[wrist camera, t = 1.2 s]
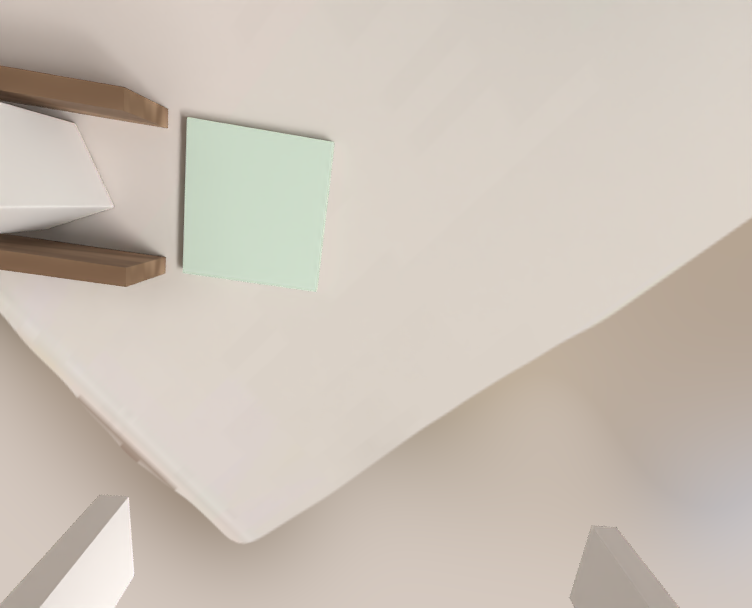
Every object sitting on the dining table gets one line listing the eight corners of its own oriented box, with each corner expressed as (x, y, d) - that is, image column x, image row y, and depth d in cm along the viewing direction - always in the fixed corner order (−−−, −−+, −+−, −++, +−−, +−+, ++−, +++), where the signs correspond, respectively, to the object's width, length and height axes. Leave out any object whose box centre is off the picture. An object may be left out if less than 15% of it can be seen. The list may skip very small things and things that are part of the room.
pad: (192, 119, 32) (187, 116, 31) (334, 143, 32) (333, 141, 32) (187, 271, 35) (182, 272, 34) (317, 289, 36) (316, 291, 35)
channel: (-64, 69, 30) (-166, 36, 24) (168, 109, 31) (123, 87, 26) (-43, 243, 34) (-128, 251, 28) (165, 273, 35) (126, 286, 29)
